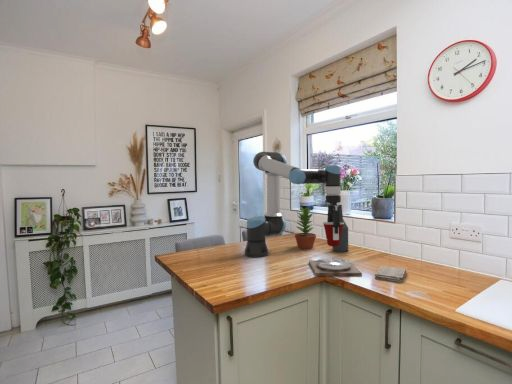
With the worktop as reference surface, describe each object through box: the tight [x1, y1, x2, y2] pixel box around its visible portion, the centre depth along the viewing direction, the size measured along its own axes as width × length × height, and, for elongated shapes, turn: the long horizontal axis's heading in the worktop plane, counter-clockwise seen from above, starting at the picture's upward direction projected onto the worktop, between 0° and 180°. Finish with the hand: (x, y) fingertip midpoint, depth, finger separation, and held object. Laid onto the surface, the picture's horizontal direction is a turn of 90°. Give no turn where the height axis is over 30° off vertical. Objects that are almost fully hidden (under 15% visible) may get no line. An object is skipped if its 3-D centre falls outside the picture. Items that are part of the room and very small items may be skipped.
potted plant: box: [294, 204, 317, 250], centre depth 198 cm, size 15×15×30 cm
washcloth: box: [374, 265, 407, 283], centre depth 138 cm, size 12×18×3 cm, turn 148°
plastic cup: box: [322, 221, 344, 247], centre depth 149 cm, size 11×11×12 cm
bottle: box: [331, 204, 349, 253], centre depth 189 cm, size 10×10×30 cm
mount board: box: [308, 257, 363, 277], centre depth 149 cm, size 22×22×4 cm
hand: (333, 237), depth 149 cm, fingers closed on plastic cup, 10 cm apart
